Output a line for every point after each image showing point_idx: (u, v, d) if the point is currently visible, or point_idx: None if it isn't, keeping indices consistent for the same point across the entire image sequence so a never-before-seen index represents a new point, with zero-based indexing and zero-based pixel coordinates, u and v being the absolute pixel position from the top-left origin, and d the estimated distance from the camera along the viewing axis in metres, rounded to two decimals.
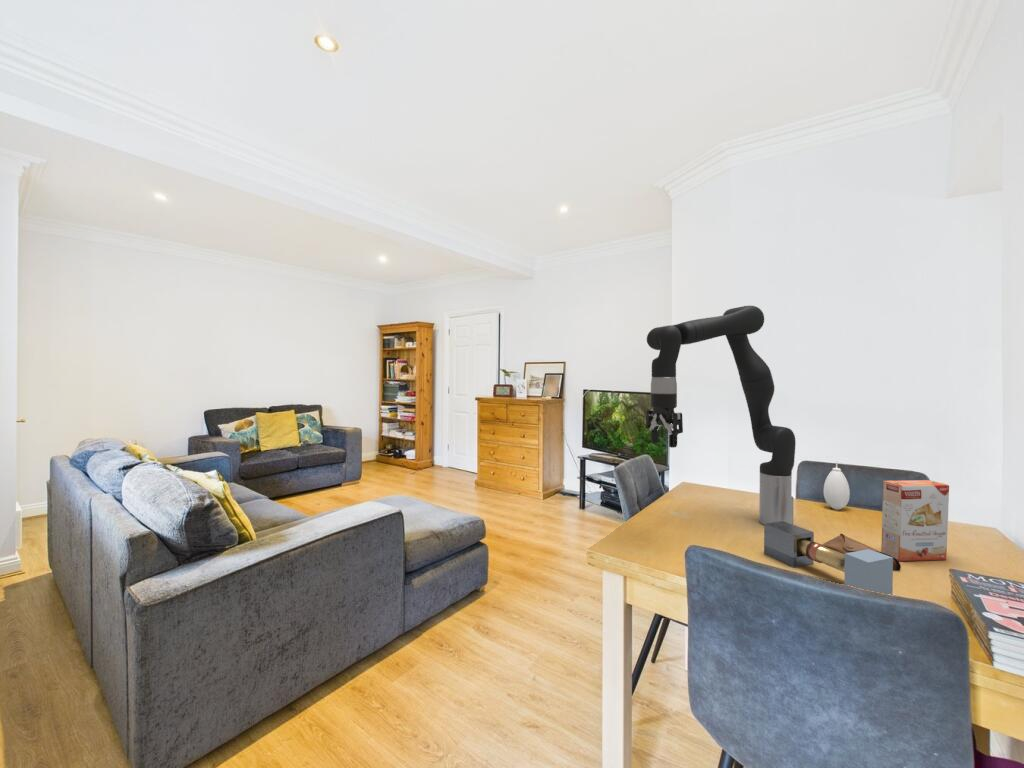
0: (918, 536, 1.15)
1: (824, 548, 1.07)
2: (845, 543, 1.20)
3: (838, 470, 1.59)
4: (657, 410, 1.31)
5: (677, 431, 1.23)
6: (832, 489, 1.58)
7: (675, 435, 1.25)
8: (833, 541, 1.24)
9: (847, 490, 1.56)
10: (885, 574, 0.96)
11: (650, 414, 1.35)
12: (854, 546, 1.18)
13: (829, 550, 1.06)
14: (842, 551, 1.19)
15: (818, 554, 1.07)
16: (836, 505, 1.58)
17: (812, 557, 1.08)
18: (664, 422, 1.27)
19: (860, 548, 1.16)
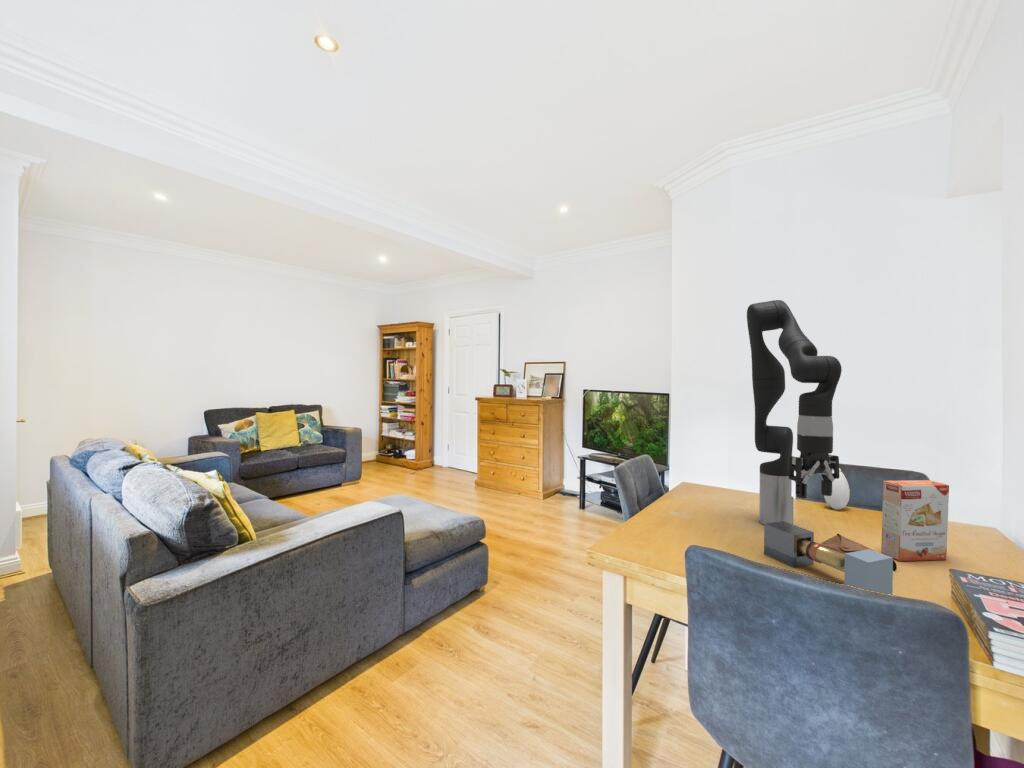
0: (918, 536, 1.15)
1: (824, 548, 1.07)
2: (841, 543, 1.20)
3: None
4: (814, 456, 1.08)
5: None
6: (832, 489, 1.58)
7: None
8: (830, 541, 1.24)
9: (847, 490, 1.56)
10: (885, 574, 0.96)
11: (802, 463, 1.07)
12: (850, 546, 1.18)
13: (829, 550, 1.06)
14: (838, 551, 1.19)
15: (818, 554, 1.07)
16: (836, 505, 1.58)
17: (812, 557, 1.08)
18: (828, 469, 1.08)
19: (856, 548, 1.16)
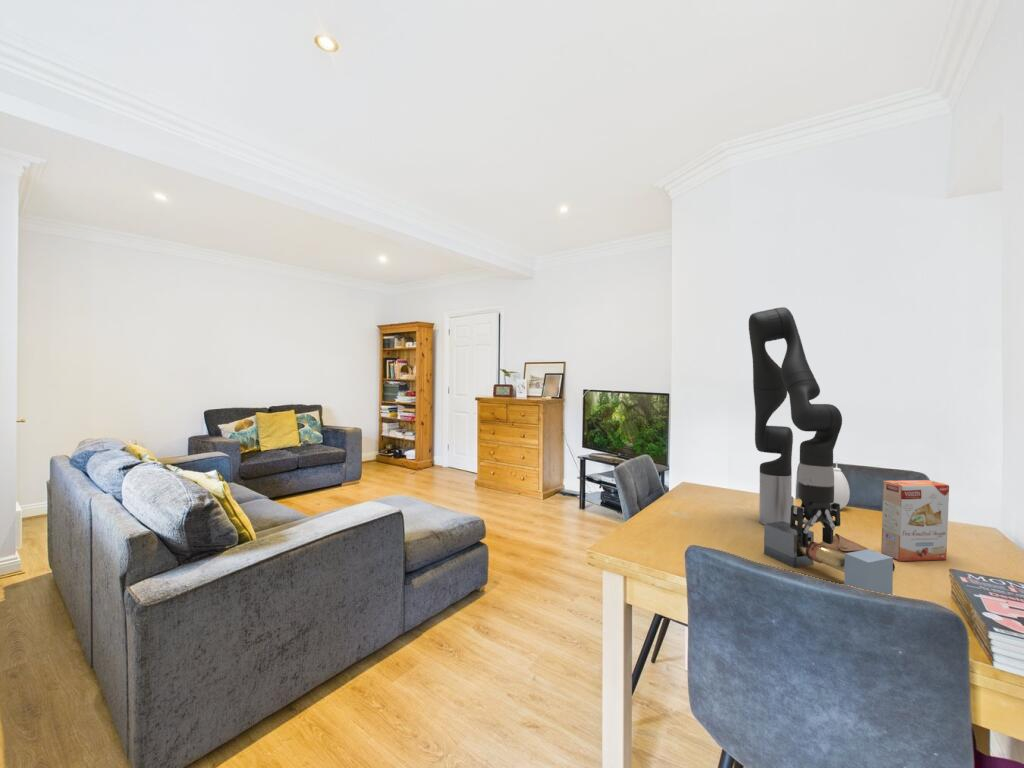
0: (918, 536, 1.15)
1: (824, 548, 1.07)
2: (840, 543, 1.20)
3: (838, 470, 1.59)
4: (815, 505, 1.08)
5: None
6: None
7: None
8: None
9: (847, 490, 1.56)
10: (885, 574, 0.96)
11: (803, 512, 1.07)
12: (848, 546, 1.18)
13: (829, 550, 1.06)
14: None
15: (818, 554, 1.07)
16: None
17: (812, 557, 1.08)
18: (829, 517, 1.08)
19: (855, 548, 1.16)
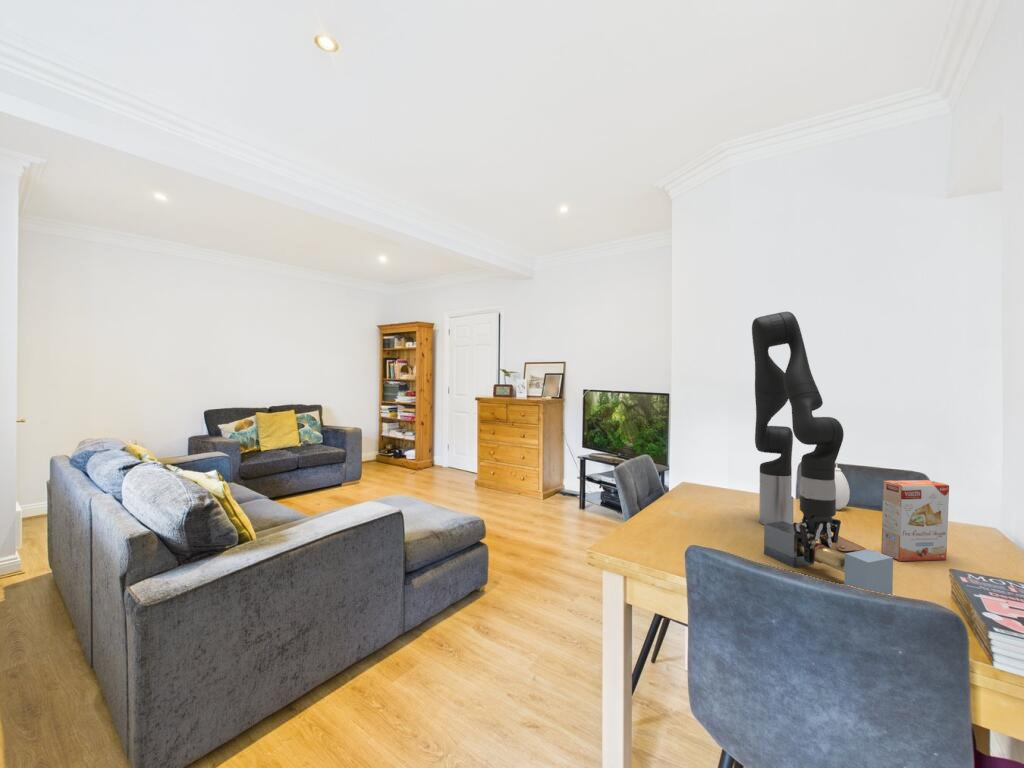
0: (918, 536, 1.15)
1: (824, 548, 1.07)
2: (838, 543, 1.20)
3: (838, 470, 1.59)
4: (817, 518, 1.08)
5: None
6: None
7: None
8: None
9: (847, 490, 1.56)
10: (885, 574, 0.96)
11: (806, 528, 1.07)
12: (847, 546, 1.18)
13: (829, 550, 1.06)
14: None
15: (818, 554, 1.07)
16: (836, 505, 1.58)
17: None
18: (829, 532, 1.08)
19: (853, 548, 1.16)
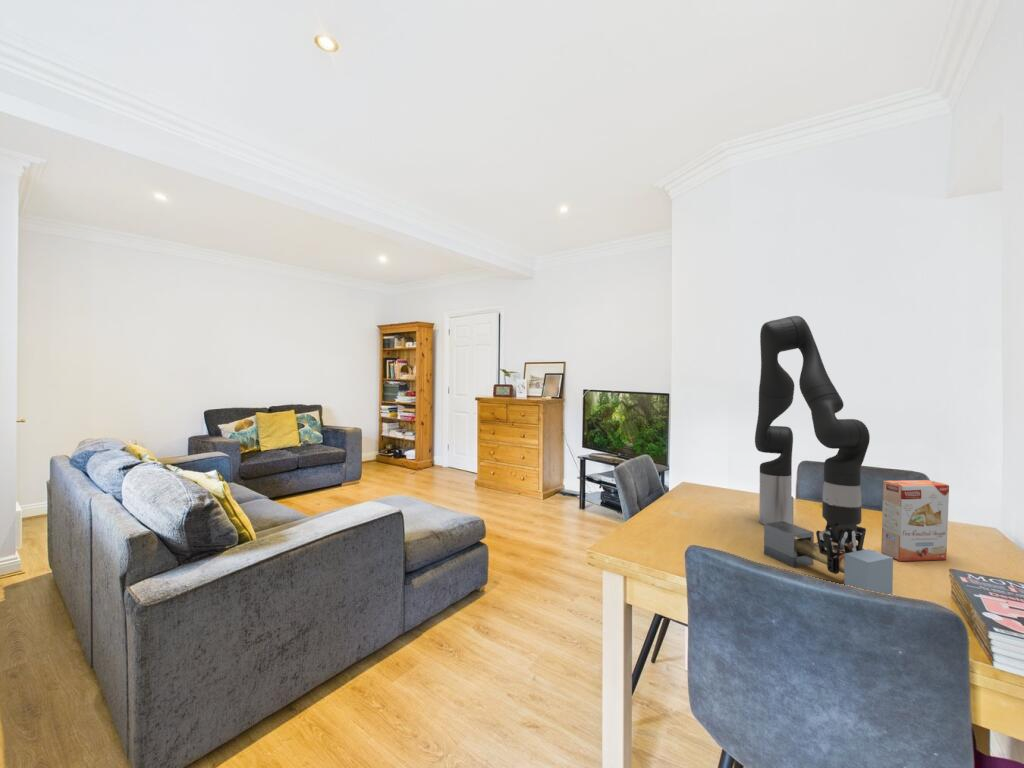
0: (918, 536, 1.15)
1: None
2: (835, 543, 1.20)
3: None
4: (841, 526, 1.02)
5: None
6: None
7: None
8: None
9: None
10: (885, 574, 0.96)
11: (830, 537, 1.01)
12: None
13: None
14: None
15: (843, 564, 1.01)
16: None
17: None
18: (854, 540, 1.03)
19: None
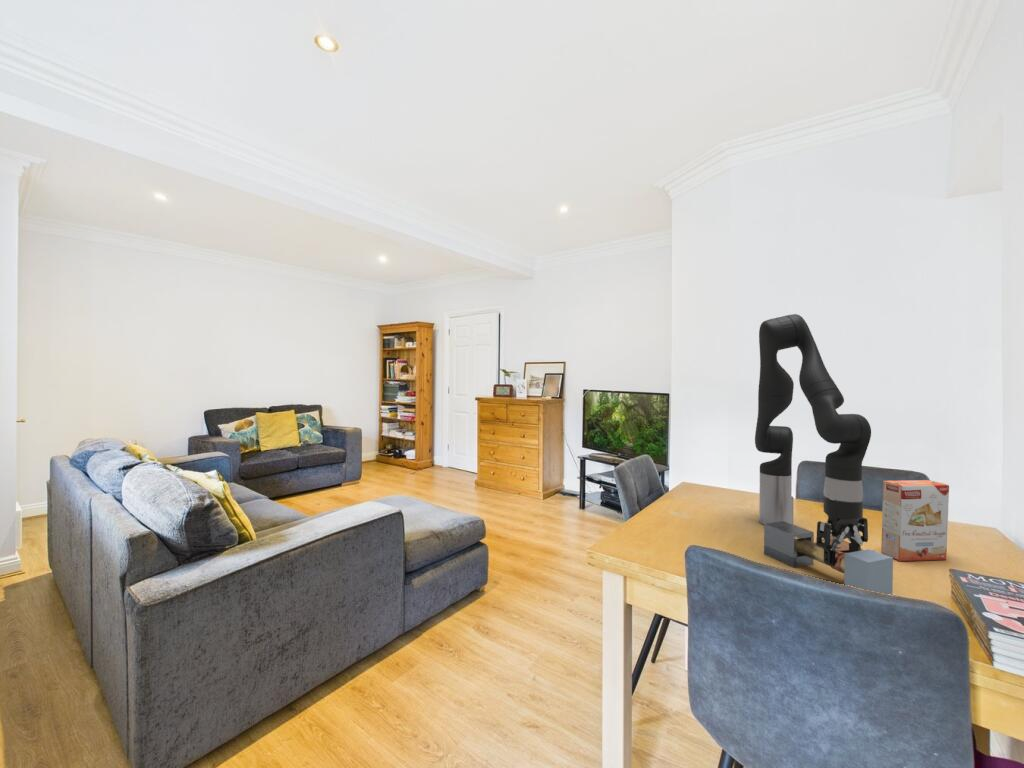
0: (918, 536, 1.15)
1: None
2: None
3: None
4: (843, 521, 1.02)
5: None
6: None
7: None
8: None
9: None
10: (885, 574, 0.96)
11: (830, 529, 1.01)
12: (842, 546, 1.18)
13: None
14: None
15: (843, 564, 1.01)
16: None
17: (836, 567, 1.03)
18: (857, 533, 1.03)
19: (847, 547, 1.17)
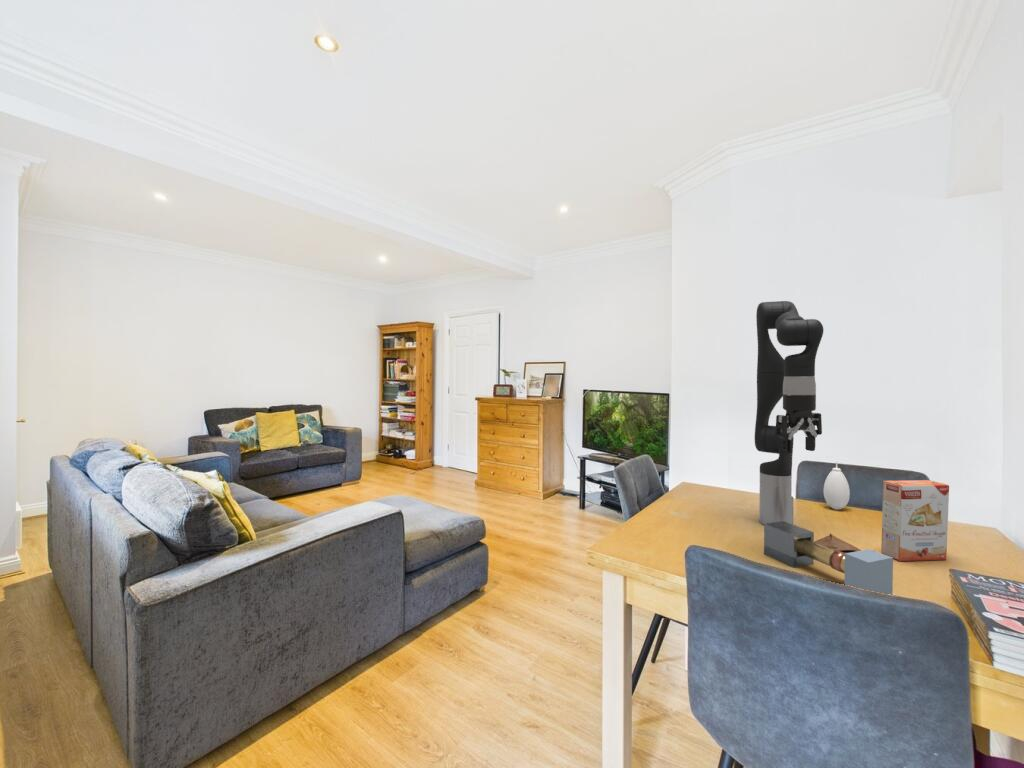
0: (918, 536, 1.15)
1: None
2: (831, 543, 1.20)
3: (838, 470, 1.59)
4: (798, 414, 1.15)
5: None
6: (832, 489, 1.58)
7: None
8: (821, 541, 1.24)
9: (847, 490, 1.56)
10: (885, 574, 0.96)
11: (787, 420, 1.14)
12: (839, 546, 1.18)
13: None
14: None
15: (843, 564, 1.01)
16: (836, 505, 1.58)
17: (836, 567, 1.03)
18: (812, 425, 1.16)
19: (844, 547, 1.17)
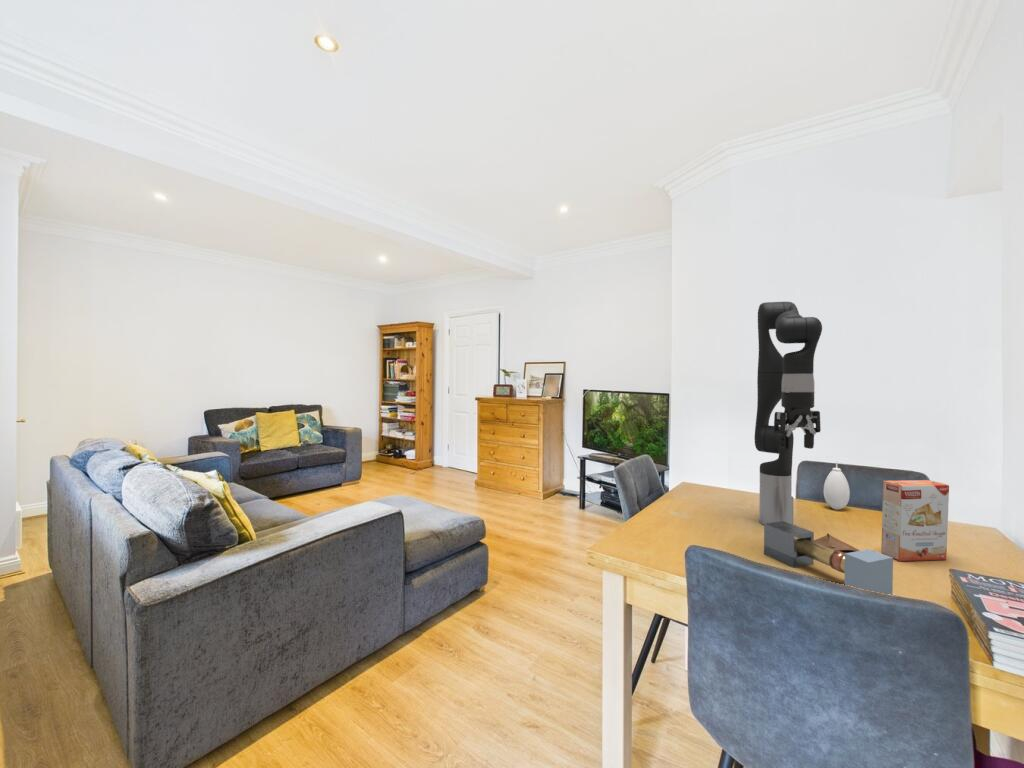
0: (918, 536, 1.15)
1: None
2: (828, 543, 1.20)
3: (838, 470, 1.59)
4: (797, 411, 1.16)
5: None
6: (832, 489, 1.58)
7: None
8: (818, 541, 1.24)
9: (847, 490, 1.56)
10: (885, 574, 0.96)
11: (785, 417, 1.15)
12: (837, 546, 1.18)
13: None
14: None
15: (843, 564, 1.01)
16: (836, 505, 1.58)
17: (836, 567, 1.03)
18: (810, 423, 1.16)
19: (842, 547, 1.17)
